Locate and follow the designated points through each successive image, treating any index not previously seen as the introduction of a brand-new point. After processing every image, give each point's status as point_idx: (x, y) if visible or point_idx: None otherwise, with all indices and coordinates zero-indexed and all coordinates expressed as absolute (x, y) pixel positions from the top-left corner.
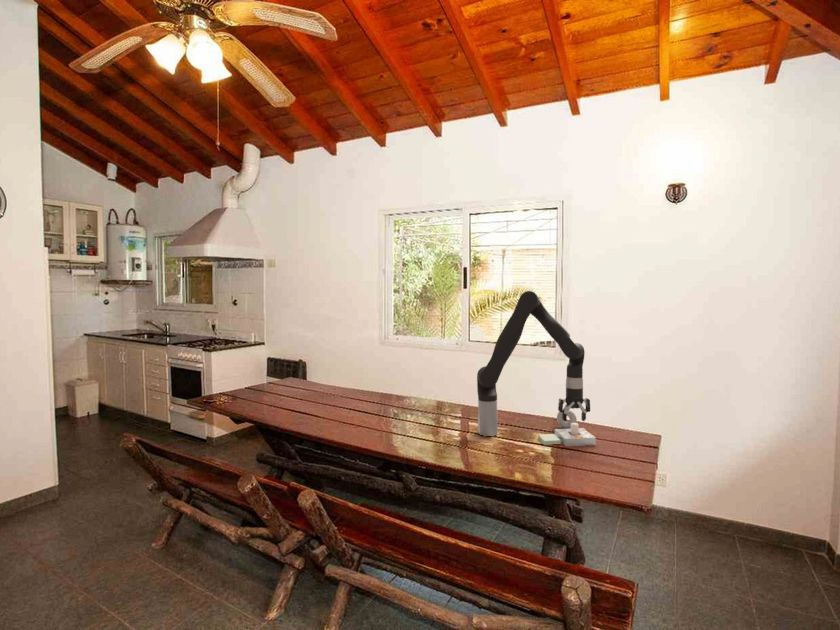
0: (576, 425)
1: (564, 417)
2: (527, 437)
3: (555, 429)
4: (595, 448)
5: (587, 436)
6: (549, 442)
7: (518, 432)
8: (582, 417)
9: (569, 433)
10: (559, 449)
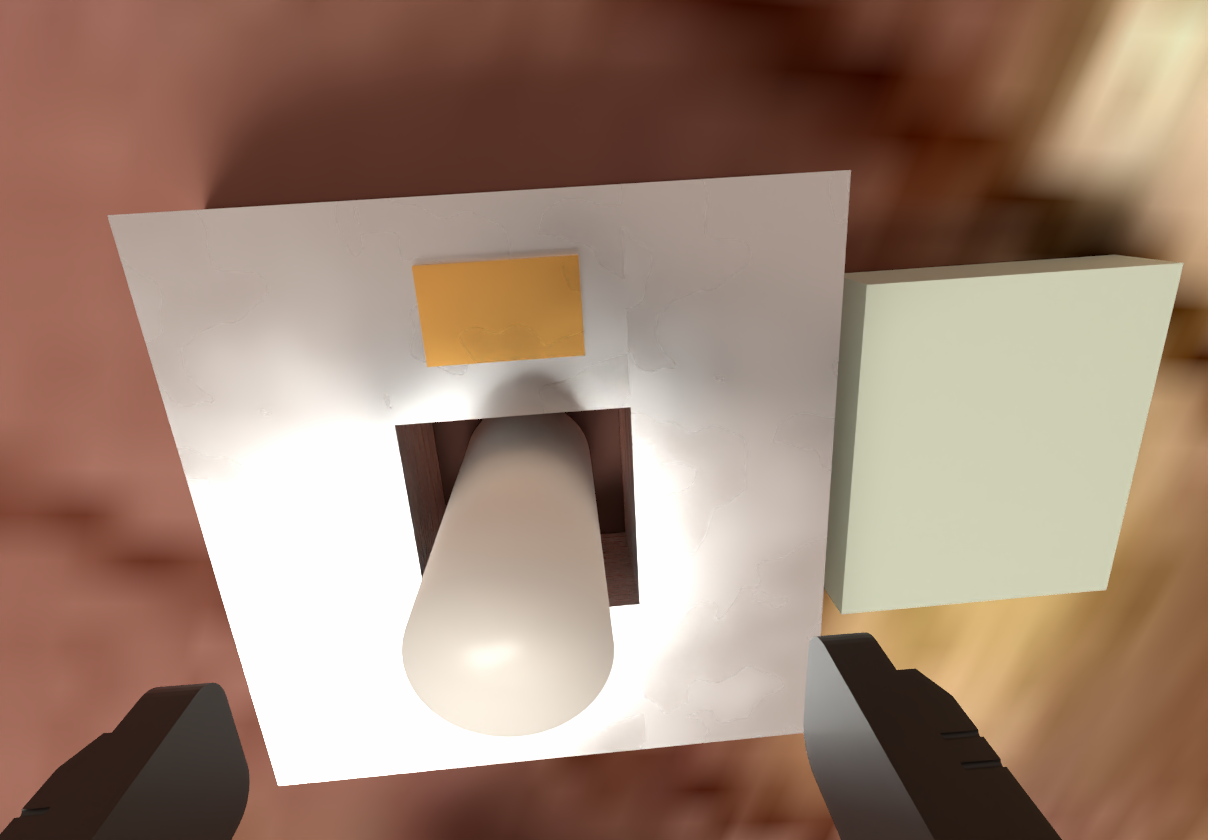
0: (483, 556)
1: (942, 753)
2: (1175, 601)
3: None
4: (240, 17)
5: (292, 308)
6: (1057, 266)
7: (1185, 775)
8: (170, 831)
9: None
10: (958, 7)
